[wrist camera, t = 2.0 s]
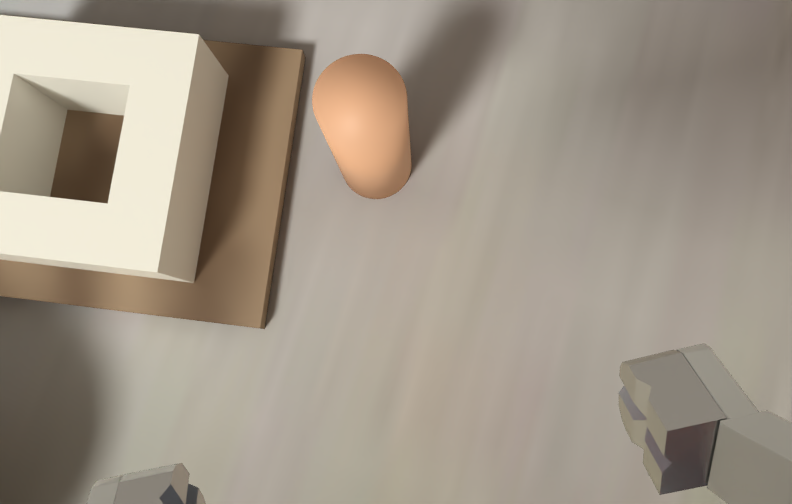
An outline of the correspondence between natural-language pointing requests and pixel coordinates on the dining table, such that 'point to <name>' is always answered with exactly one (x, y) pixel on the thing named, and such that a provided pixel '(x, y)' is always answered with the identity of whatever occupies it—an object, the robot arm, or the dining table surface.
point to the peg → (365, 123)
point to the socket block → (137, 152)
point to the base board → (226, 208)
